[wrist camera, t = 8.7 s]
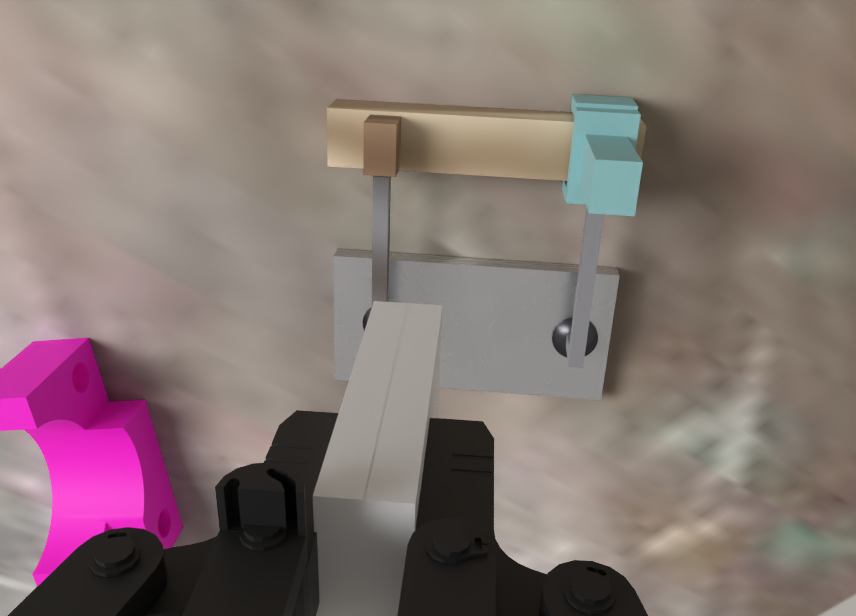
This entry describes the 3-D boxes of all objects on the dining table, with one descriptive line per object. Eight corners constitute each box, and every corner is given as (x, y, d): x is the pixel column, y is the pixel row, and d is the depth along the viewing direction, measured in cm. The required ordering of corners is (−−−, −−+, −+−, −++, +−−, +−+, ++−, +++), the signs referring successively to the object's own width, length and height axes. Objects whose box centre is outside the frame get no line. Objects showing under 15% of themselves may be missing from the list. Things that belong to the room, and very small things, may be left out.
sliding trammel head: (572, 94, 42) (587, 128, 34) (631, 97, 41) (659, 132, 34) (545, 337, 47) (552, 412, 40) (596, 340, 47) (614, 417, 40)
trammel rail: (336, 99, 43) (318, 115, 39) (638, 116, 42) (653, 134, 38) (338, 318, 48) (322, 353, 44) (606, 338, 47) (616, 375, 43)
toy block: (184, 525, 56) (140, 605, 50) (100, 528, 57) (45, 607, 50) (127, 333, 50) (68, 394, 44) (34, 340, 51) (-38, 401, 44)
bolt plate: (337, 248, 47) (333, 256, 45) (616, 267, 46) (619, 276, 44) (338, 369, 50) (334, 380, 49) (598, 389, 49) (601, 401, 48)
